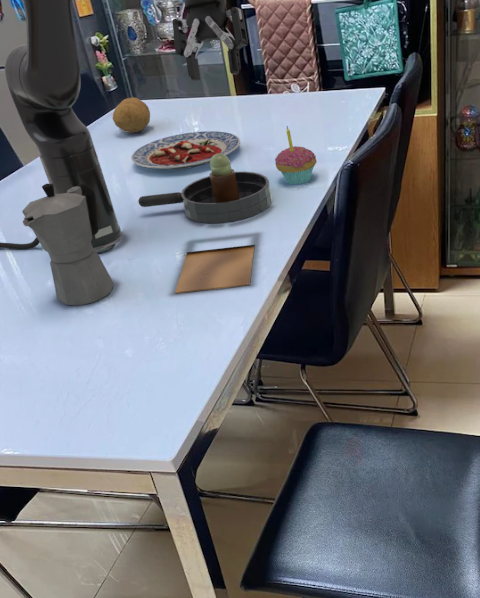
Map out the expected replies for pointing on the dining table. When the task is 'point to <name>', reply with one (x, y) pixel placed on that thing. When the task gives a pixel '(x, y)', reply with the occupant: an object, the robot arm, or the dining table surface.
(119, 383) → the dining table surface
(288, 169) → the cupcake
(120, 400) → the dining table surface
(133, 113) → the potato
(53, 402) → the dining table surface
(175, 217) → the dining table surface
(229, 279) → the placemat
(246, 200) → the pan
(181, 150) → the ceramic plate
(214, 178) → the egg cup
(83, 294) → the coffeepot
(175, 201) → the pan handle
